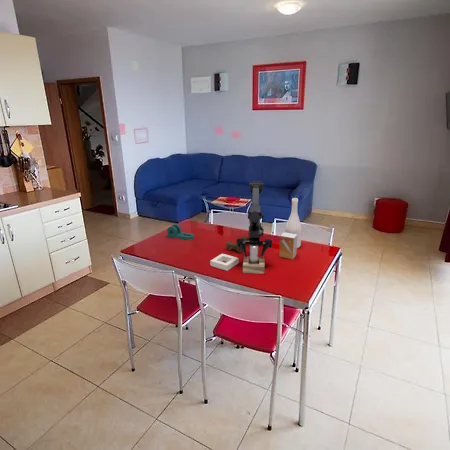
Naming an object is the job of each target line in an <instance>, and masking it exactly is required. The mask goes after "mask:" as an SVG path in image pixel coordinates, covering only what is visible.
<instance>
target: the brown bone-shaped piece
mask: <svg viewBox="0 0 450 450" xmlns="http://www.w3.org/2000/svg"><path fill="white" fill-rule="evenodd" d="M242 238H244V241H249V236H247V235H245V236H242ZM225 244H226V245H225V248H226V250H228V251H231V250H236V252H238V253H239V254H240V253H242V252H244V251H243V249H242V248H240V247H238V246H237V244H236V243H234V242H232V241H231V240H228V241H227V242H226V243H225Z"/></svg>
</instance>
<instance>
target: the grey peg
mask: <svg viewBox="0 0 450 450" xmlns="http://www.w3.org/2000/svg"><path fill="white" fill-rule="evenodd" d="M249 257H250V264H258V257H259V245H257V244H249Z"/></svg>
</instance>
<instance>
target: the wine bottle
mask: <svg viewBox="0 0 450 450" xmlns="http://www.w3.org/2000/svg"><path fill="white" fill-rule="evenodd" d="M298 205H299V199H298V198H297V197H293V198H291V212H290V215H289V217H288V219H287V223H286V225H285V229H284V232H285V233H291V234H297V249H299V248H300V247H301V245H302V244H301V243H302V223H301V220H300V217H299V212H298Z"/></svg>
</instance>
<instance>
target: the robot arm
mask: <svg viewBox="0 0 450 450" xmlns="http://www.w3.org/2000/svg"><path fill="white" fill-rule="evenodd" d="M248 185H249V186H248V188H249V189H248V190H249V191H250V193H251V194H252V195H251V200H252V201H251V206H250V207H249V210H248V212H247V219H248V222H249V226H248V238H249V241H244V238H243V237H242V238H241V237H237V238H236V242H235V244H237V246H238V247H240V248H242V249H243V251H242V252H243V254H244V257H245V258H246V257H248V256H247V249H246V248H247V247H246V245H251V244H257V245H258V246H262V248H261V249H262V250H261V255H260V257H261V259H262V258H263V257H264V255H265V253H266V251H267V250H269V249H270V248H272V247H273V239H272V238H264V240H261V237H263V236H264V230H265V229H264V227H263V226H262V223H261V220H262V219H263V218H264V213H263V211H262V207H261V206H260V195H261V194H262V193H263V190H264V183H263V182H262V181H261V180H258V181H255V180H254V181H253V180H252V181H251V182H249V184H248Z"/></svg>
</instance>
